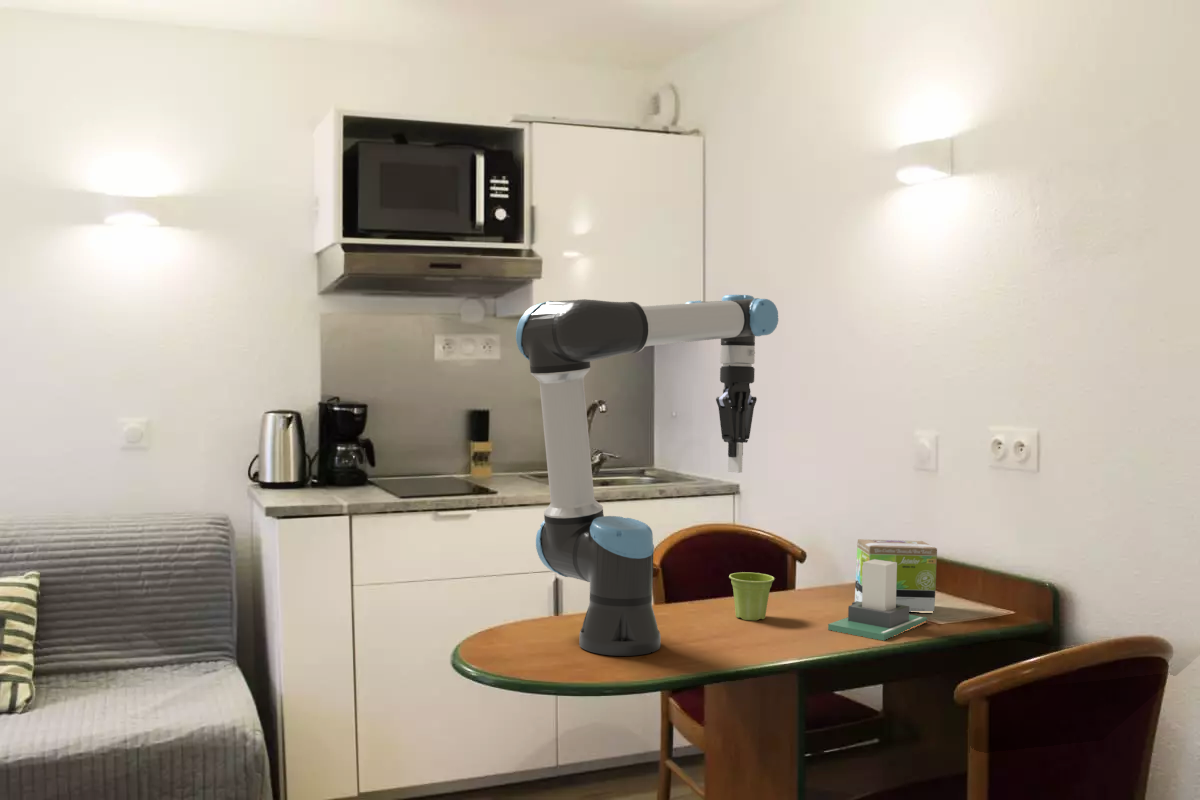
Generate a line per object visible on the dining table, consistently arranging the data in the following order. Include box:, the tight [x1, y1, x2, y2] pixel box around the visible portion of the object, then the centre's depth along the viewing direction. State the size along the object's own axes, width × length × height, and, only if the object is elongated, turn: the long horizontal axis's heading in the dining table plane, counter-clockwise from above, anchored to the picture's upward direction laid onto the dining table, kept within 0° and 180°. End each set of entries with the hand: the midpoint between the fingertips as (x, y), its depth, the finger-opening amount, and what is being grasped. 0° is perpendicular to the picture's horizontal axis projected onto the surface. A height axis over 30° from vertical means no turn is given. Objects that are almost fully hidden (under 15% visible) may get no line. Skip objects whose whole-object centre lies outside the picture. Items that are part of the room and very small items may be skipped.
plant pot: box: [728, 571, 775, 621], centre depth 220 cm, size 9×9×9 cm
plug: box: [862, 559, 897, 611], centre depth 214 cm, size 5×6×12 cm
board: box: [827, 601, 928, 642], centre depth 214 cm, size 20×12×4 cm, turn 139°
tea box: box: [854, 538, 938, 612], centre depth 231 cm, size 15×10×15 cm, turn 92°
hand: (735, 471), depth 232 cm, fingers closed
